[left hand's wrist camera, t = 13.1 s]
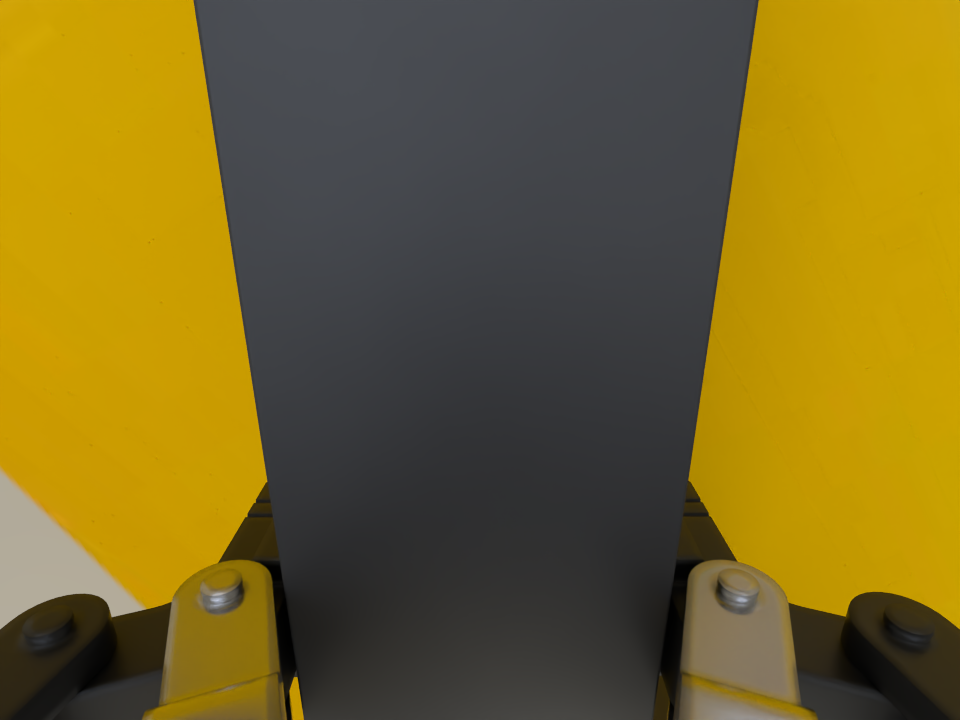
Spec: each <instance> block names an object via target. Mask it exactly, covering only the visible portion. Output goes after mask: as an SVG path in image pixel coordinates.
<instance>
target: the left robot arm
mask: <svg viewBox="0 0 960 720" xmlns="http://www.w3.org/2000/svg"><path fill="white" fill-rule="evenodd" d="M294 677H298V676H297V670H296V663H295V657H294V650H293V644H292V637H291V631H290V624H289V618H288V611H287V605H286V598H285V592H284V585H283V579H282V572H281V566H280V559H279V553H278V546H277V540H276V533H275V527H274V520H273V514H272V507H271V501H270V494H269V488H268V482H267V483H266V484H265V486H264V487H263V489H262V491H261V492H260V494H259V496H258V497H257V499H256V503H254V504H253V506H252V507H251V509H250V511H249V512H248V517H245V519H244V521H243V522H242V524H241V526H240V527H239V529H238V531H237V532H236V534H235V536H234V537H233V539H232V541H231V542H230V544H229V546H228V547H227V549H226V551H225V552H224V554H223V556H222V557H221V559H220V561H219V562H218V563H217V564H214V565H211V566H209V567H206V568H204V569H202V570H200V571H199V572H197V573H195V574H194V575H192V576H191V577H190V578H188V579H187V580H186V581H185V582H184V583H183V584H182V585H181V586H180V587H179V588H178V590H177V591H176V593H175V595H174V597H173V600H172V602H170V603H167V604H165V605H162V606H158V607H155V608H151V609H146V610H142V611H138V612H134V613H129V614H125V615H120V616H116V617H111V613H110V610H109V607H108V605H107V603H106V602H105V601H104V600H103V599H102V598H100V597H98V596H95V595H91V594H73V595H66V596H62V597H58V598H54V599H51V600H49V601H46V602H43V603H41V604H38V605H36V606H34V607H33V608H31V609H28V610H27V611H25V612H23V613H22V614H20V615H19V616H17V617H16V618H14V619H13V620H12V621H10V622H9V623H8V624H7V625H5V626H4V627H3V628H2V629H0V720H293V712H292V705H291V699H290V692H289V690H290V687H291V684H292V681H293V678H294ZM653 720H960V629H958V628H957V627H956V626H955V625H953V624H952V623H951V622H950V621H948V620H947V619H946V618H944V617H943V616H942V615H940V614H939V613H937V612H936V611H934V610H932V609H931V608H929V607H927V606H925V605H923V604H921V603H919V602H917V601H914V600H912V599H909V598H906V597H903V596H900V595H895V594H891V593H884V592H868V593H863V594H860V595H858V596H856V597H855V598H854V599H853V600H852V601H851V602H850V605H849V608H848V611H847V615H846V617H844V616H840V615H835V614H831V613H827V612H822V611H818V610H814V609H809V608H805V607H801V606H797V605H794V604H791V603H788V600H787V597H786V595H785V593H784V591H783V590H782V588H781V587H780V586H779V585H778V584H777V583H776V582H775V581H774V580H773V579H772V578H770V577H769V576H768V575H766V574H765V573H763V572H761V571H760V570H758V569H756V568H754V567H751V566H749V565H746V564H743V563H739V562H737V560H736V559H735V557H734V555H733V554H732V552H731V550H730V548H729V547H728V545H727V543H726V542H725V540H724V538H723V537H722V535H721V533H720V531H719V530H718V528H717V526H716V525H715V523H714V521H713V520H712V518H711V517H709V513H708V511H707V509H706V508H705V506H704V504H703V503H702V502H700V498H699V496H698V494H697V492H696V491H695V489H694V487H693V486H692V484H691V482H689V481H688V484H687V491H686V498H685V505H684V511H683V518H682V525H681V532H680V539H679V545H678V552H677V559H676V566H675V573H674V580H673V586H672V593H671V600H670V607H669V614H668V620H667V627H666V634H665V641H664V648H663V654H662V661H661V668H660V675H659V682H658V688H657V695H656V702H655V709H654V716H653Z"/></svg>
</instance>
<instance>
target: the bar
mask: <svg viewBox="0 0 960 720" xmlns="http://www.w3.org/2000/svg"><path fill="white" fill-rule="evenodd" d="M758 1H759V0H194V6H195V13H196V19H197V26H198V32H199V39H200V45H201V52H202V58H203V65H204V71H205V78H206V84H207V91H208V97H209V104H210V110H211V117H212V123H213V130H214V136H215V143H216V149H217V156H218V162H219V169H220V175H221V182H222V188H223V195H224V201H225V208H226V215H227V221H228V228H229V234H230V241H231V247H232V254H233V260H234V267H235V273H236V280H237V286H238V293H239V299H240V306H241V312H242V319H243V325H244V332H245V338H246V345H247V351H248V358H249V364H250V371H251V377H252V384H253V390H254V397H255V403H256V410H257V416H258V423H259V429H260V436H261V442H262V449H263V455H264V462H265V468H266V475H267V481H268V488H269V494H270V501H271V507H272V514H273V520H274V527H275V533H276V540H277V546H278V553H279V559H280V566H281V572H282V579H283V585H284V592H285V598H286V605H287V611H288V618H289V624H290V631H291V637H292V644H293V650H294V657H295V663H296V670H297V676H298V683H299V689H300V696H301V702H302V709H303V715H304V720H653V716H654V709H655V702H656V695H657V688H658V682H659V675H660V668H661V661H662V654H663V648H664V641H665V634H666V627H667V620H668V614H669V607H670V600H671V593H672V586H673V580H674V573H675V566H676V559H677V552H678V545H679V539H680V532H681V525H682V518H683V511H684V505H685V498H686V491H687V484H688V477H689V471H690V464H691V457H692V450H693V443H694V437H695V430H696V423H697V416H698V409H699V403H700V396H701V389H702V382H703V375H704V369H705V362H706V355H707V348H708V341H709V334H710V328H711V321H712V314H713V307H714V300H715V294H716V287H717V280H718V273H719V266H720V260H721V253H722V246H723V239H724V232H725V226H726V219H727V212H728V205H729V198H730V192H731V185H732V178H733V171H734V164H735V158H736V151H737V144H738V137H739V130H740V123H741V117H742V110H743V103H744V96H745V89H746V83H747V76H748V69H749V62H750V55H751V49H752V42H753V35H754V28H755V21H756V15H757V8H758Z"/></svg>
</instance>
